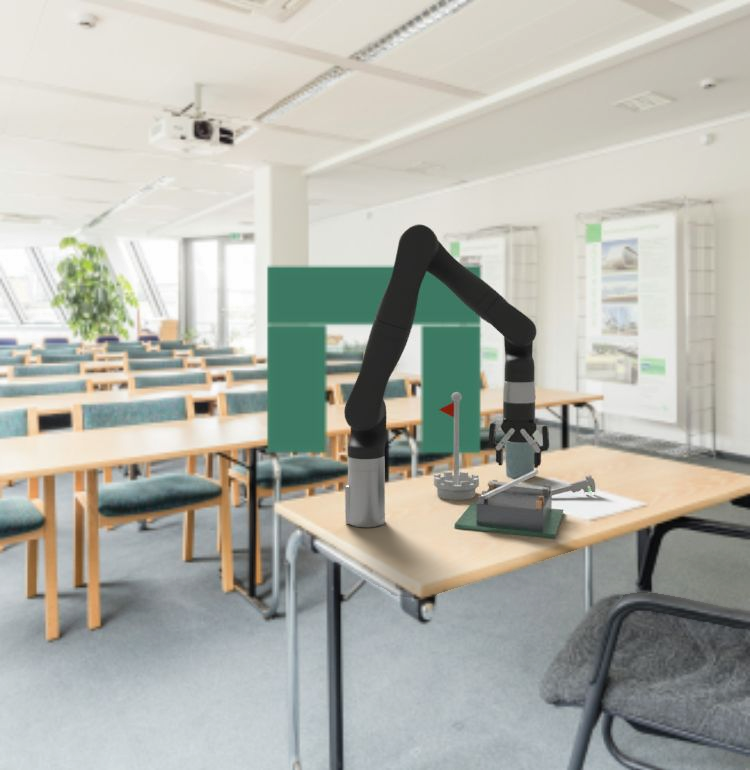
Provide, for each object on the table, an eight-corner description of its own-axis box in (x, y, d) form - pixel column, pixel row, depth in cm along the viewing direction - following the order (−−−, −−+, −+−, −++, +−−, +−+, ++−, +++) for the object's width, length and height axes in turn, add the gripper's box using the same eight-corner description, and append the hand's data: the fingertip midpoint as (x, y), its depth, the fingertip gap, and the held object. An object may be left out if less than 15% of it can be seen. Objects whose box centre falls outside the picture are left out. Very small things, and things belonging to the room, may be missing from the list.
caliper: (593, 495, 195) (593, 474, 195) (595, 496, 194) (595, 475, 194) (526, 499, 192) (527, 477, 191) (528, 500, 190) (528, 478, 190)
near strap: (481, 502, 167) (478, 497, 167) (483, 499, 170) (481, 494, 170) (537, 475, 161) (535, 470, 162) (539, 472, 164) (536, 468, 164)
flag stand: (477, 489, 203) (478, 389, 199) (480, 501, 190) (480, 394, 186) (433, 488, 204) (434, 389, 201) (433, 500, 191) (433, 394, 188)
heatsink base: (454, 527, 166) (454, 496, 166) (473, 504, 186) (473, 477, 185) (555, 538, 158) (555, 506, 157) (563, 513, 177) (564, 484, 177)
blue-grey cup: (533, 472, 222) (534, 436, 221) (538, 480, 212) (538, 442, 211) (502, 472, 223) (502, 436, 222) (505, 479, 213) (505, 442, 212)
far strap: (549, 491, 176) (549, 486, 175) (548, 494, 173) (548, 489, 173) (489, 484, 181) (489, 479, 181) (487, 486, 178) (487, 482, 178)
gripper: (486, 400, 161) (486, 467, 163) (547, 403, 156) (546, 471, 158) (492, 396, 168) (492, 461, 170) (551, 398, 163) (550, 464, 165)
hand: (518, 466), depth 164 cm, fingers open, 8 cm apart
